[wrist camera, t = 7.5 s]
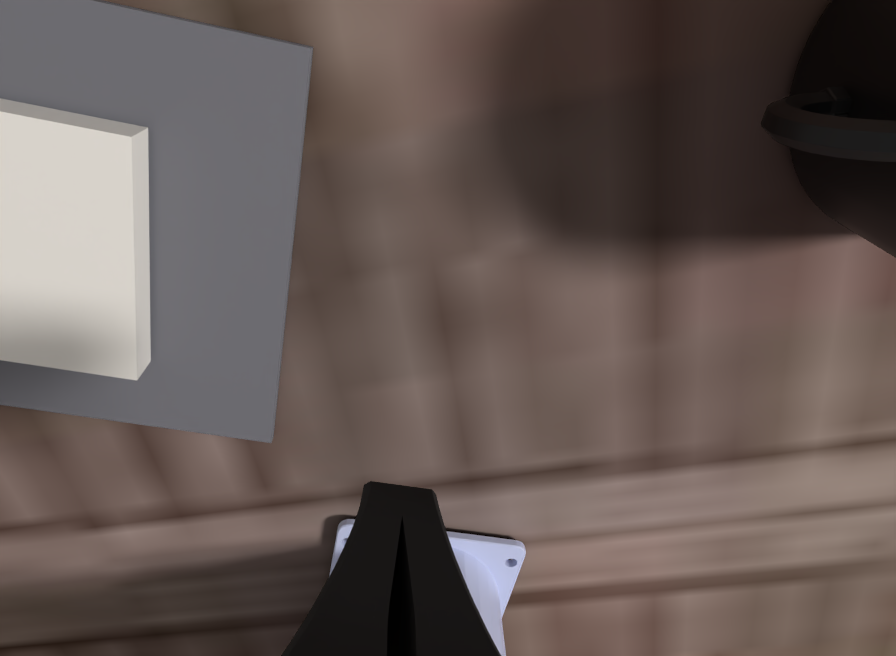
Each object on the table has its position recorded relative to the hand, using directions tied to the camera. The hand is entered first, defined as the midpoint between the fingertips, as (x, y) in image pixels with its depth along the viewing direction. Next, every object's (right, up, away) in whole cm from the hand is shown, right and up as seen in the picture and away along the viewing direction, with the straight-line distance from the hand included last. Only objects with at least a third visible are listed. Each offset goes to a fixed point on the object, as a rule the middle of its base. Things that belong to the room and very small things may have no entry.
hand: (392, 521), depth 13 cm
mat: (-10, +7, +8) cm, 15 cm away
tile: (-8, +6, +7) cm, 12 cm away
